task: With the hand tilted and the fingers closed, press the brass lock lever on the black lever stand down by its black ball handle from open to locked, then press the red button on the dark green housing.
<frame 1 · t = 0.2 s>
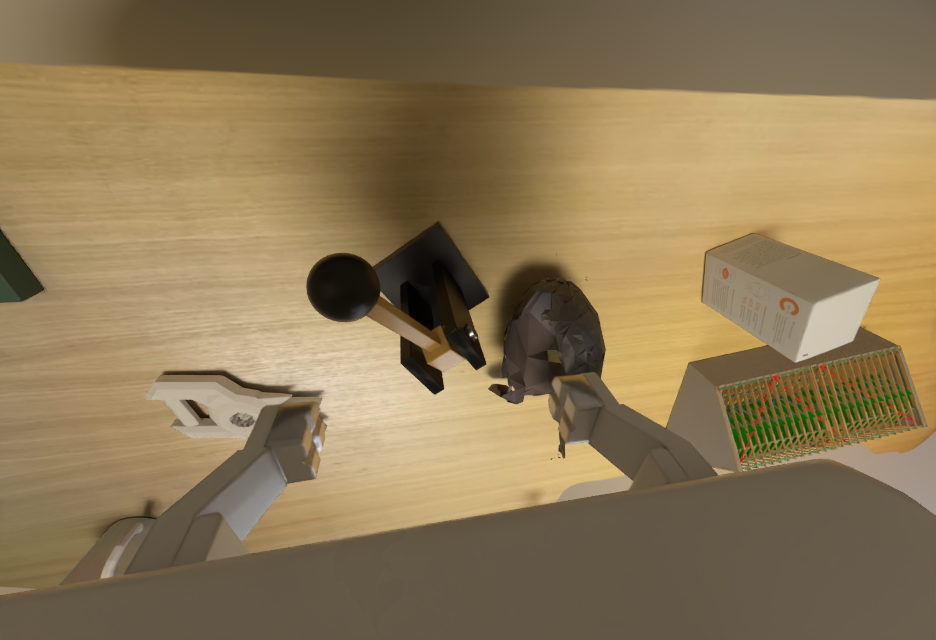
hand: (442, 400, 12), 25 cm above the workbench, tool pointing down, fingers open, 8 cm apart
black lever stand: (430, 282, 36), on the workbench
crumpled paper: (534, 319, 42), on the workbench
beige holed clip: (247, 398, 41), on the workbench
small box: (725, 268, 43), on the workbench
grey sloped slatted box: (752, 384, 58), on the workbench
mug: (145, 520, 50), on the workbench
lock lever: (402, 324, 22), point 14 cm above the workbench, hinge at 25.0°
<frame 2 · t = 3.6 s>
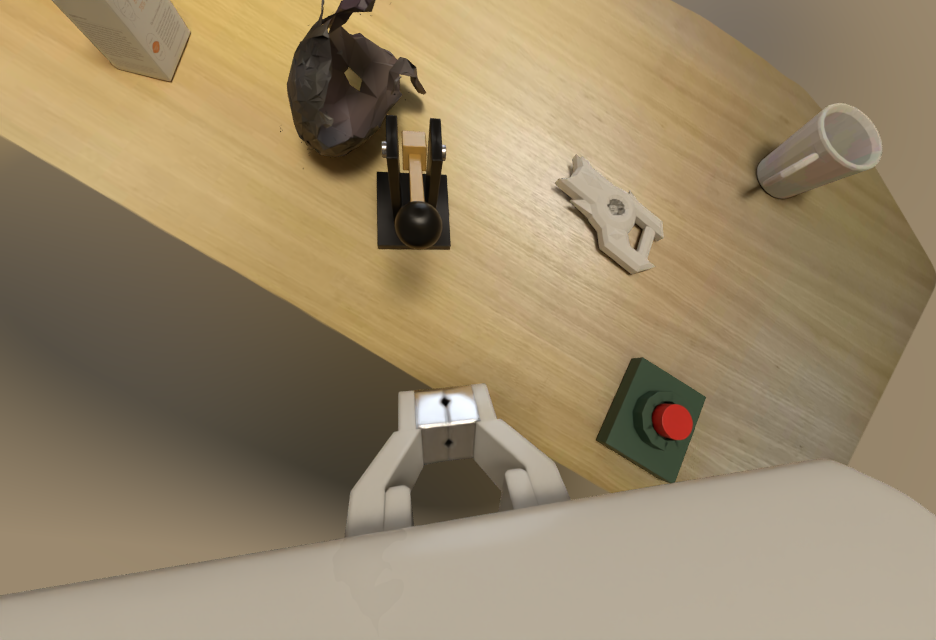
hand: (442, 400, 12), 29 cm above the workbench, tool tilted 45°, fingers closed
button: (671, 421, 39), point 4 cm above the workbench, slide at 0.1 cm
black lever stand: (413, 213, 43), on the workbench
crumpled paper: (354, 128, 44), on the workbench
beige holed clip: (604, 221, 48), on the workbench
small box: (155, 52, 42), on the workbench
button box: (645, 417, 43), on the workbench
mug: (765, 184, 55), on the workbench
lock lever: (416, 185, 29), point 14 cm above the workbench, hinge at 25.0°
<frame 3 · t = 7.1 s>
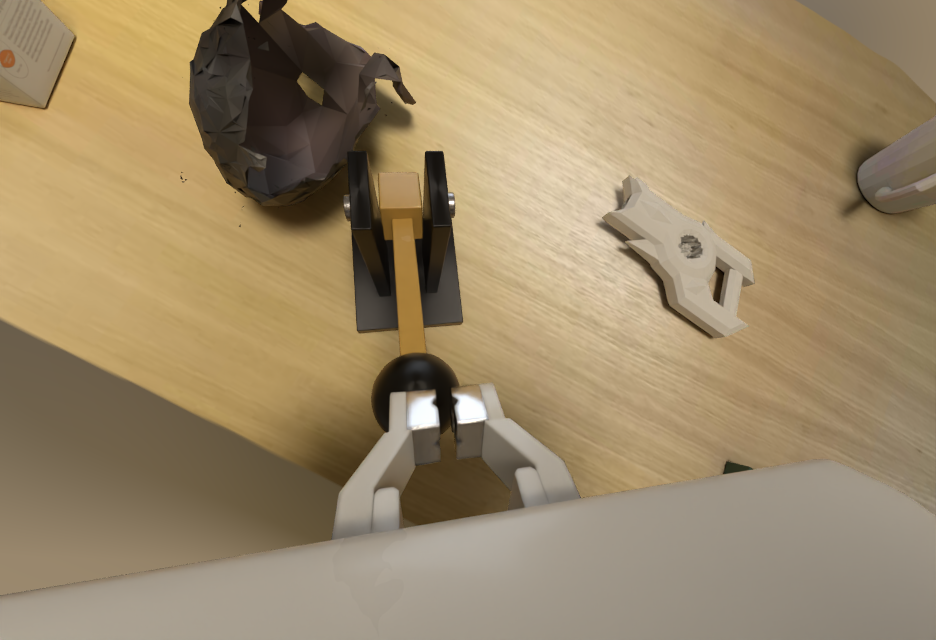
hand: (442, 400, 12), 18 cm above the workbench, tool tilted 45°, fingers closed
black lever stand: (407, 275, 30), on the workbench
crumpled paper: (317, 158, 31), on the workbench
beige holed clip: (669, 263, 35), on the workbench
small box: (24, 66, 29), on the workbench
mug: (869, 195, 41), on the workbench
lock lever: (408, 289, 16), point 14 cm above the workbench, hinge at 18.1°, touching gripper
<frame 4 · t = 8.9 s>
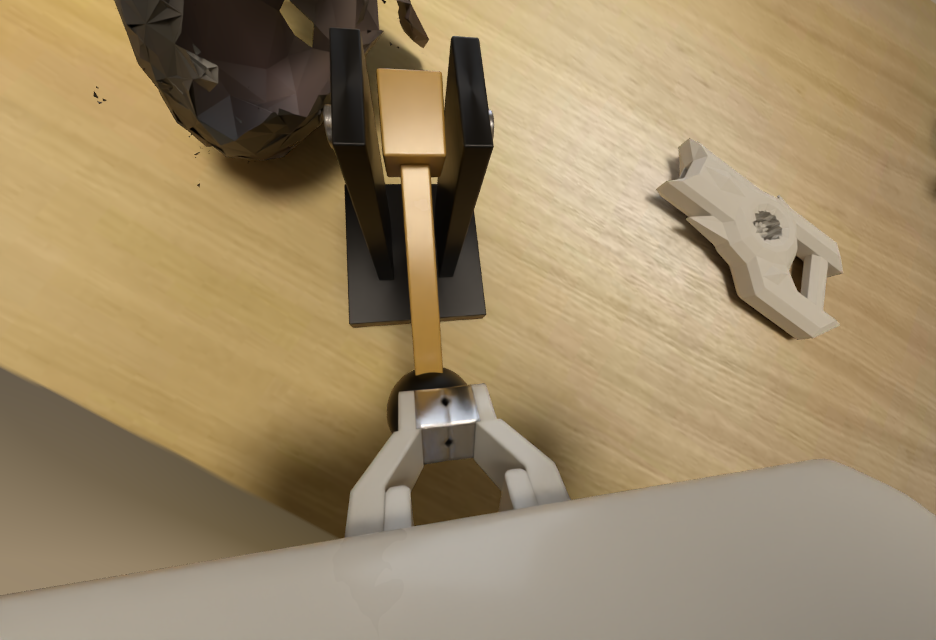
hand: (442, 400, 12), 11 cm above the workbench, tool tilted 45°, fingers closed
black lever stand: (414, 255, 24), on the workbench
crumpled paper: (305, 110, 25), on the workbench
beige holed clip: (735, 248, 29), on the workbench
lock lever: (422, 281, 13), point 10 cm above the workbench, hinge at -18.5°, touching gripper
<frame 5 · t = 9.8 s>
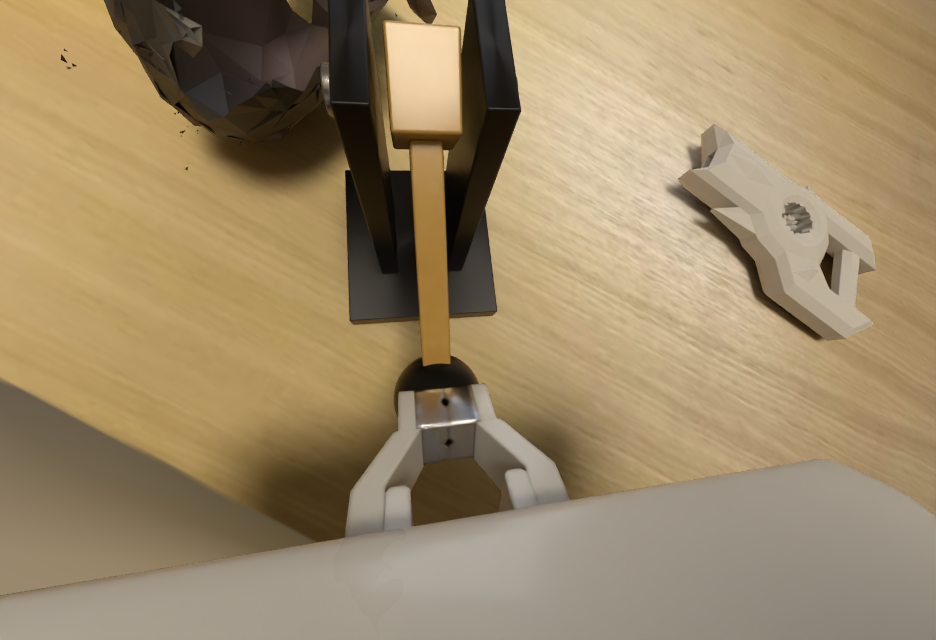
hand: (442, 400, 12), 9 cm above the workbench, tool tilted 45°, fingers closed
black lever stand: (420, 247, 22), on the workbench
crumpled paper: (303, 91, 24), on the workbench
beige holed clip: (760, 243, 27), on the workbench
lock lever: (431, 270, 12), point 9 cm above the workbench, hinge at -27.9°
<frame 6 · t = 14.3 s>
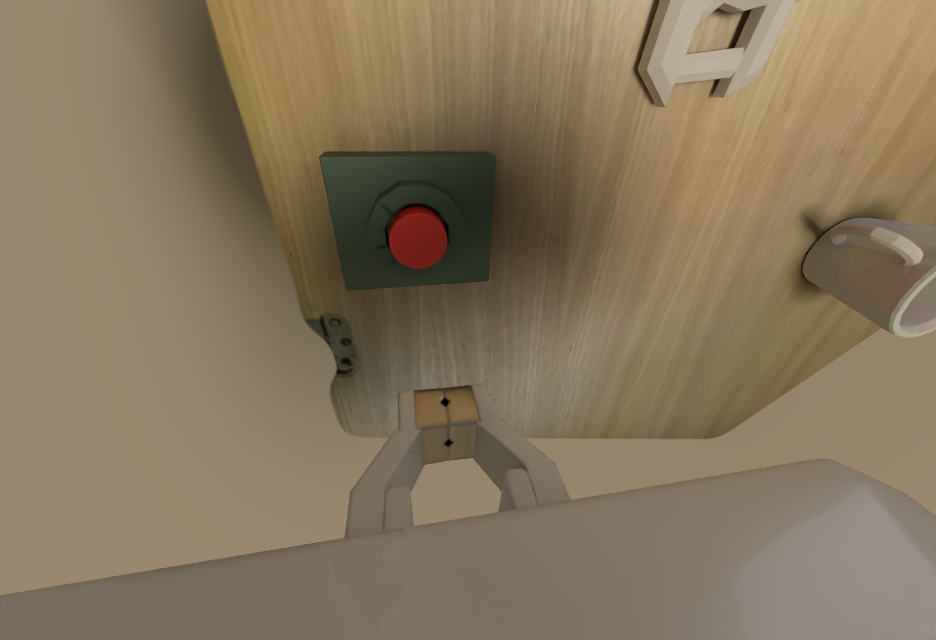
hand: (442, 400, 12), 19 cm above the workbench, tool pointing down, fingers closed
button: (417, 238, 24), point 4 cm above the workbench, slide at 0.1 cm
button box: (414, 219, 27), on the workbench
mug: (824, 240, 37), on the workbench
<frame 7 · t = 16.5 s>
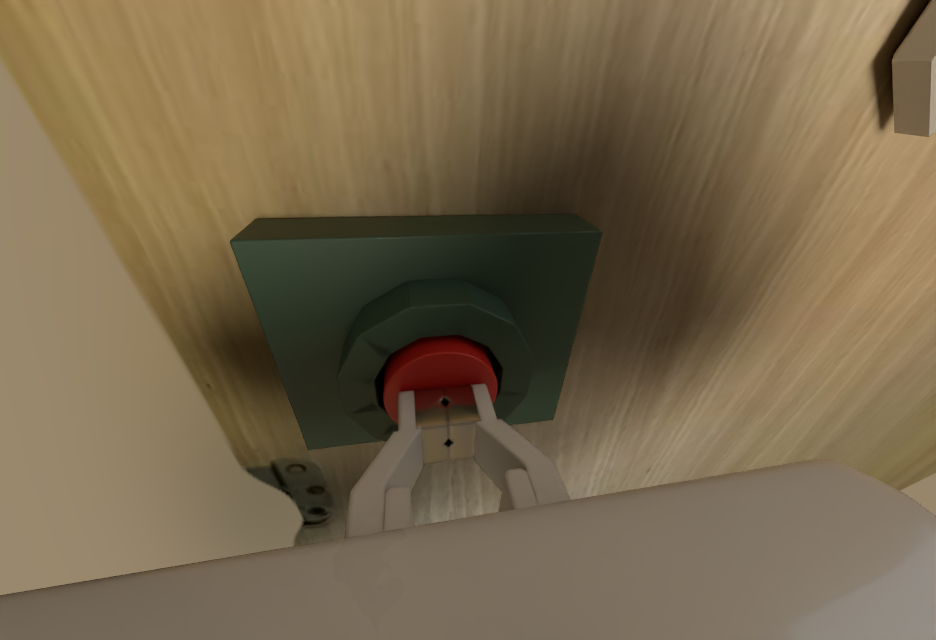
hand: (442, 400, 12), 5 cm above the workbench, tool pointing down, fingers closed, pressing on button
button: (439, 380, 12), point 4 cm above the workbench, slide at -0.7 cm, touching gripper
button box: (431, 325, 15), on the workbench
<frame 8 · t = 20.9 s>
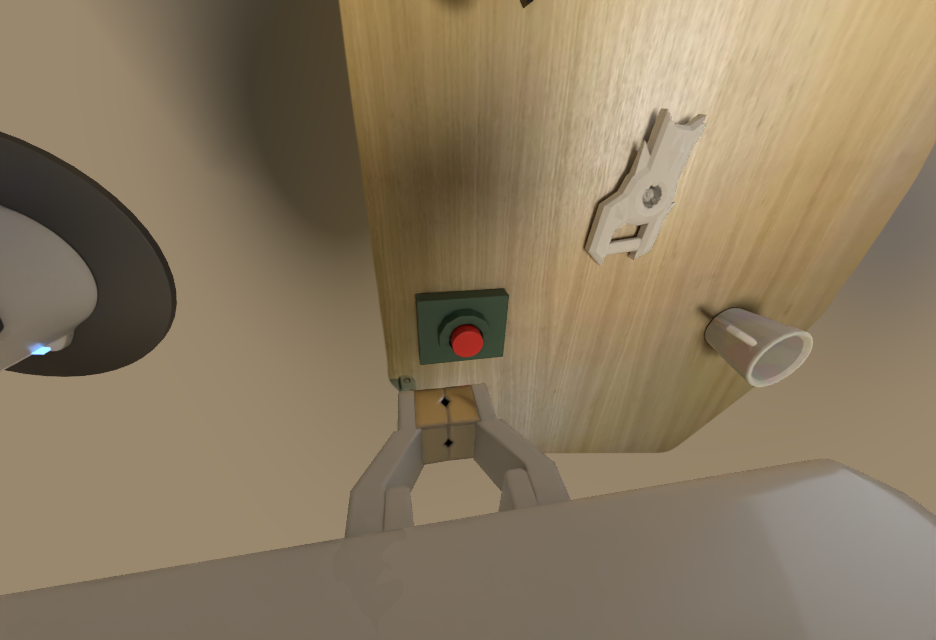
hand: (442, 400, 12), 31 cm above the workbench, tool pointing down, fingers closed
button: (466, 340, 43), point 4 cm above the workbench, slide at 0.1 cm
beige holed clip: (632, 194, 42), on the workbench
button box: (460, 323, 47), on the workbench
mug: (716, 321, 57), on the workbench
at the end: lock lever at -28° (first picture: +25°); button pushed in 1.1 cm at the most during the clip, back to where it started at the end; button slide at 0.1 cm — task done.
